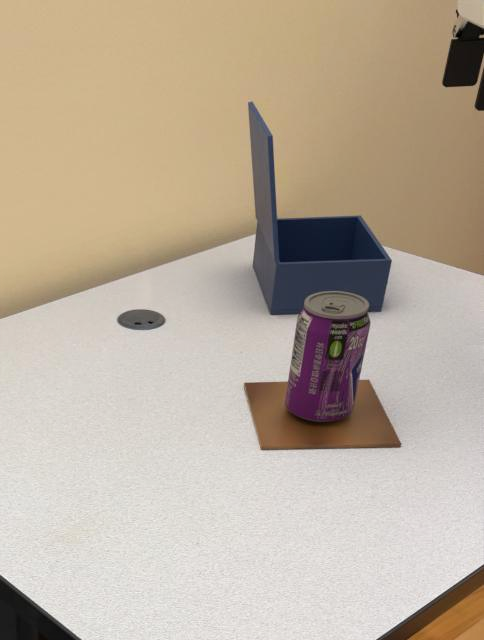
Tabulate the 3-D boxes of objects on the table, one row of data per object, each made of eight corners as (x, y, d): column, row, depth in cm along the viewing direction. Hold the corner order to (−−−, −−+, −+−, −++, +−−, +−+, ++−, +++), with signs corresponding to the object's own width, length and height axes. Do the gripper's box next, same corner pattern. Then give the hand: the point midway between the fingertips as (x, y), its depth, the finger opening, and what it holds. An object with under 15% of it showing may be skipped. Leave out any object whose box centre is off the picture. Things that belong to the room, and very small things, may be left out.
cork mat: (368, 382, 101) (369, 379, 101) (400, 446, 91) (401, 443, 90) (243, 385, 102) (243, 382, 102) (260, 449, 92) (261, 446, 91)
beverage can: (339, 433, 92) (360, 322, 85) (274, 417, 96) (289, 309, 88) (361, 404, 97) (383, 296, 89) (298, 390, 100) (314, 284, 92)
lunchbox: (352, 262, 128) (360, 215, 124) (381, 311, 115) (392, 260, 111) (252, 266, 129) (257, 219, 125) (270, 314, 116) (276, 264, 112)
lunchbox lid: (252, 101, 116) (247, 102, 116) (272, 135, 103) (267, 136, 103) (259, 216, 125) (255, 217, 125) (279, 260, 112) (274, 261, 112)
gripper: (627, -139, 66) (552, 117, 77) (538, -144, 79) (485, 76, 90) (522, -132, 67) (462, 121, 78) (451, -138, 80) (409, 80, 91)
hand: (475, 97), depth 84 cm, fingers open, 9 cm apart
